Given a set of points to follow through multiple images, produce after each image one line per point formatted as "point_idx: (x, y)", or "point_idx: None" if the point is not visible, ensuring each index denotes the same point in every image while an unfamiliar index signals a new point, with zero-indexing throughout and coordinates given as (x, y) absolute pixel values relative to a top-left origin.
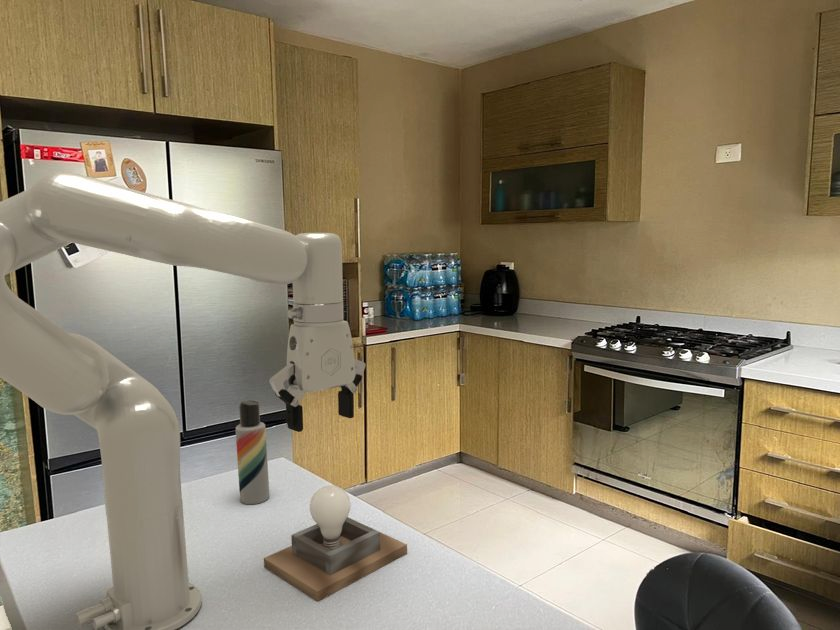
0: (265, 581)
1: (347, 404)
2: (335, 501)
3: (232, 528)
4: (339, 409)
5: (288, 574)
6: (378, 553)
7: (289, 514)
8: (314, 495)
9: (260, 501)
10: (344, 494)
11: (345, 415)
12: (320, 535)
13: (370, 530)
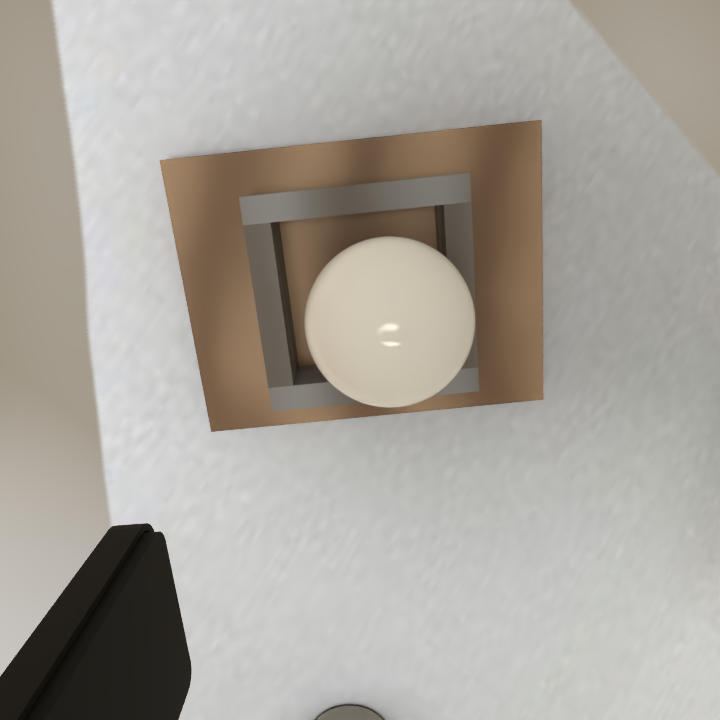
0: (572, 321)
1: (112, 659)
2: (411, 259)
3: (483, 626)
4: (171, 710)
5: (541, 273)
6: (269, 179)
7: (322, 601)
8: (454, 365)
9: (351, 708)
10: (347, 282)
11: (168, 595)
12: None
13: (258, 232)
